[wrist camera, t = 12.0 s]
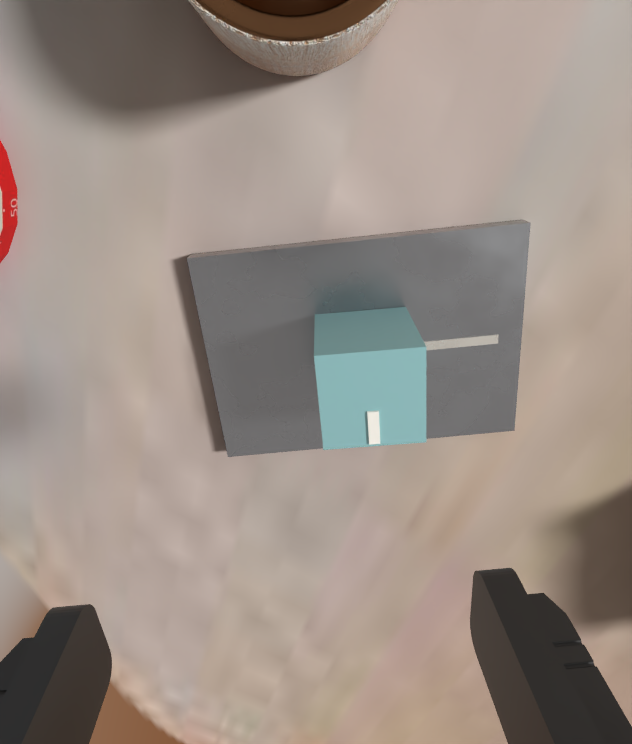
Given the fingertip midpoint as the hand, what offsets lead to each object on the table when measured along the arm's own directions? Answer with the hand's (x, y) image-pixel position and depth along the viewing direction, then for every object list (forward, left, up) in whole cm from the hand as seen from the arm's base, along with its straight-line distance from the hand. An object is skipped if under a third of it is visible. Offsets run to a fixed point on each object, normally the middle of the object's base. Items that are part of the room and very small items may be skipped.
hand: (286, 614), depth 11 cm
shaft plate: (+4, -4, -23) cm, 24 cm away
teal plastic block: (+4, -4, -22) cm, 23 cm away
